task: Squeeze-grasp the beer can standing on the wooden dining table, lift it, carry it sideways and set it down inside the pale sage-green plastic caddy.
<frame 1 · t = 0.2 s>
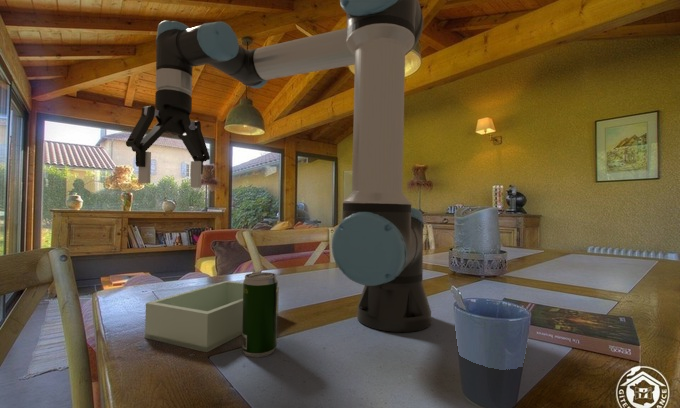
hand: (172, 185, 75), 28 cm above the table, fingers open, 13 cm apart
caddy: (218, 325, 63), on the table
beer can: (259, 351, 52), on the table
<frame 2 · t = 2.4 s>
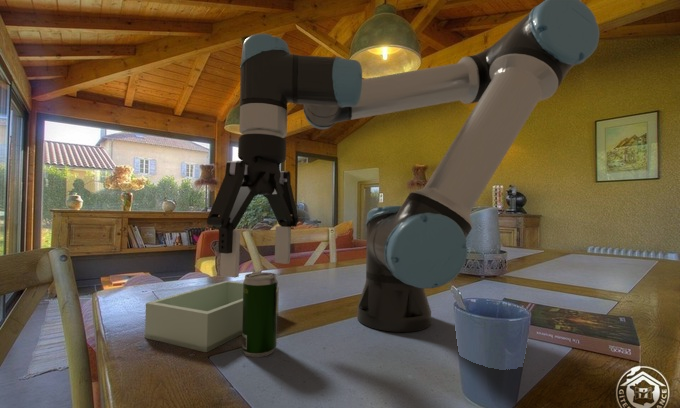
hand: (258, 269, 52), 13 cm above the table, fingers open, 13 cm apart
nothing on the table moved.
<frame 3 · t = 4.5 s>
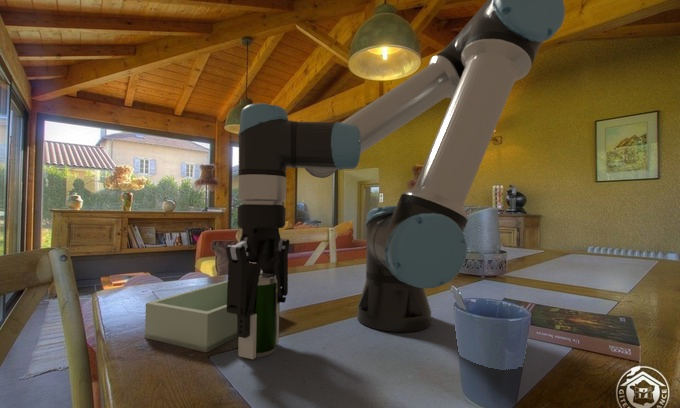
hand: (259, 348, 52), 0 cm above the table, fingers closed on beer can, 5 cm apart
beer can: (259, 351, 52), on the table, touching gripper
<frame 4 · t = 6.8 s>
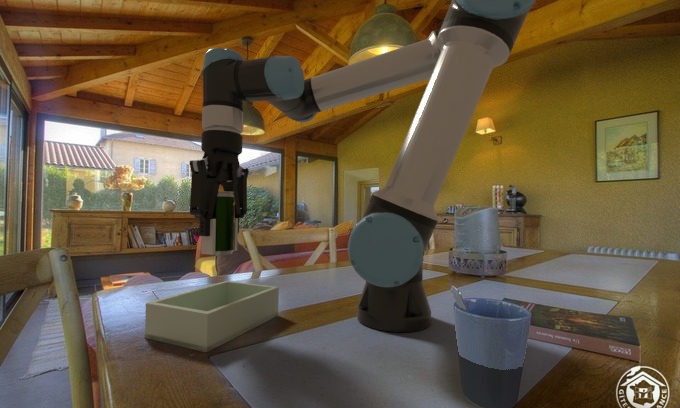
hand: (219, 251, 63), 14 cm above the table, fingers closed on beer can, 5 cm apart
beer can: (219, 254, 63), point 14 cm above the table, touching gripper
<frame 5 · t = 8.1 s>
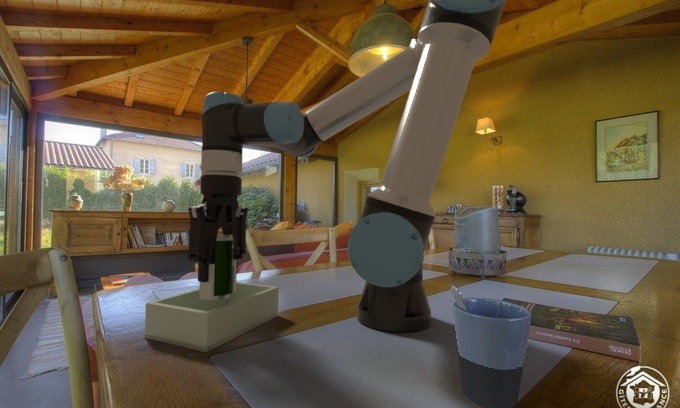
hand: (218, 294, 63), 6 cm above the table, fingers closed on beer can, 5 cm apart
beer can: (218, 297, 63), point 5 cm above the table, touching gripper
when the fingers open (3 cm above the table, at t = 9.3 s): beer can drops 2 cm, point 1 cm above the table.
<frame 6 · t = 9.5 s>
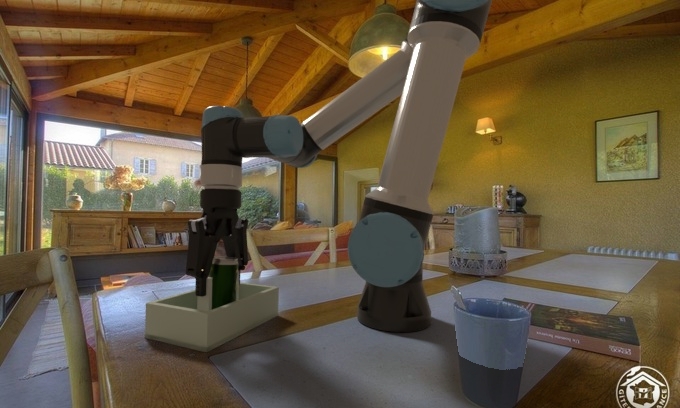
hand: (218, 307, 63), 3 cm above the table, fingers open, 7 cm apart
beer can: (218, 321, 63), point 1 cm above the table, touching gripper
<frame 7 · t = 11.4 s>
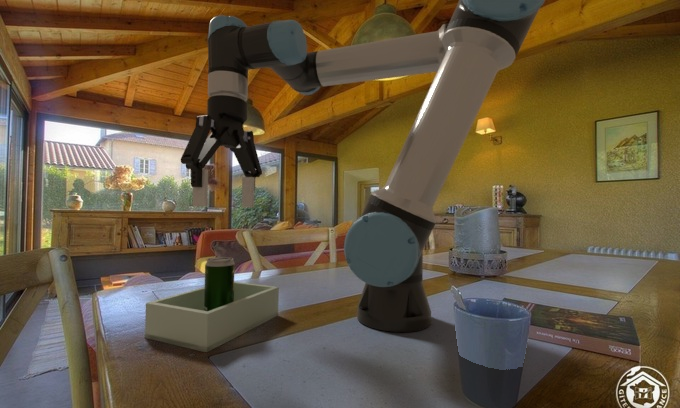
hand: (226, 207, 65), 23 cm above the table, fingers open, 13 cm apart
beer can: (218, 322, 63), point 1 cm above the table, touching caddy
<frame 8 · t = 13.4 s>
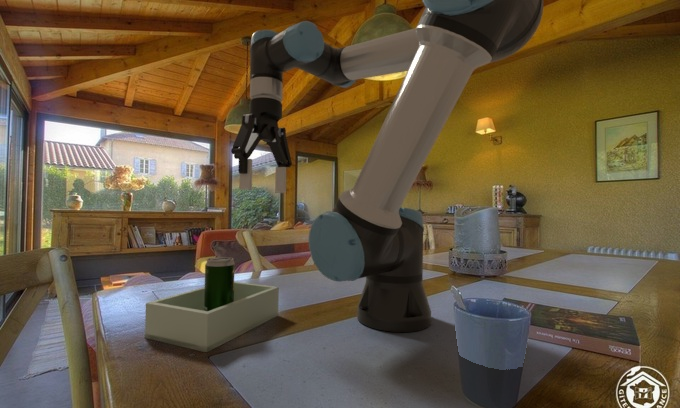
hand: (264, 191, 77), 27 cm above the table, fingers open, 13 cm apart
nothing on the table moved.
at the end: beer can inside the target area on the caddy (0.0 cm from its centre), point 0.6 cm above the caddy's base; the gripper is holding nothing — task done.
